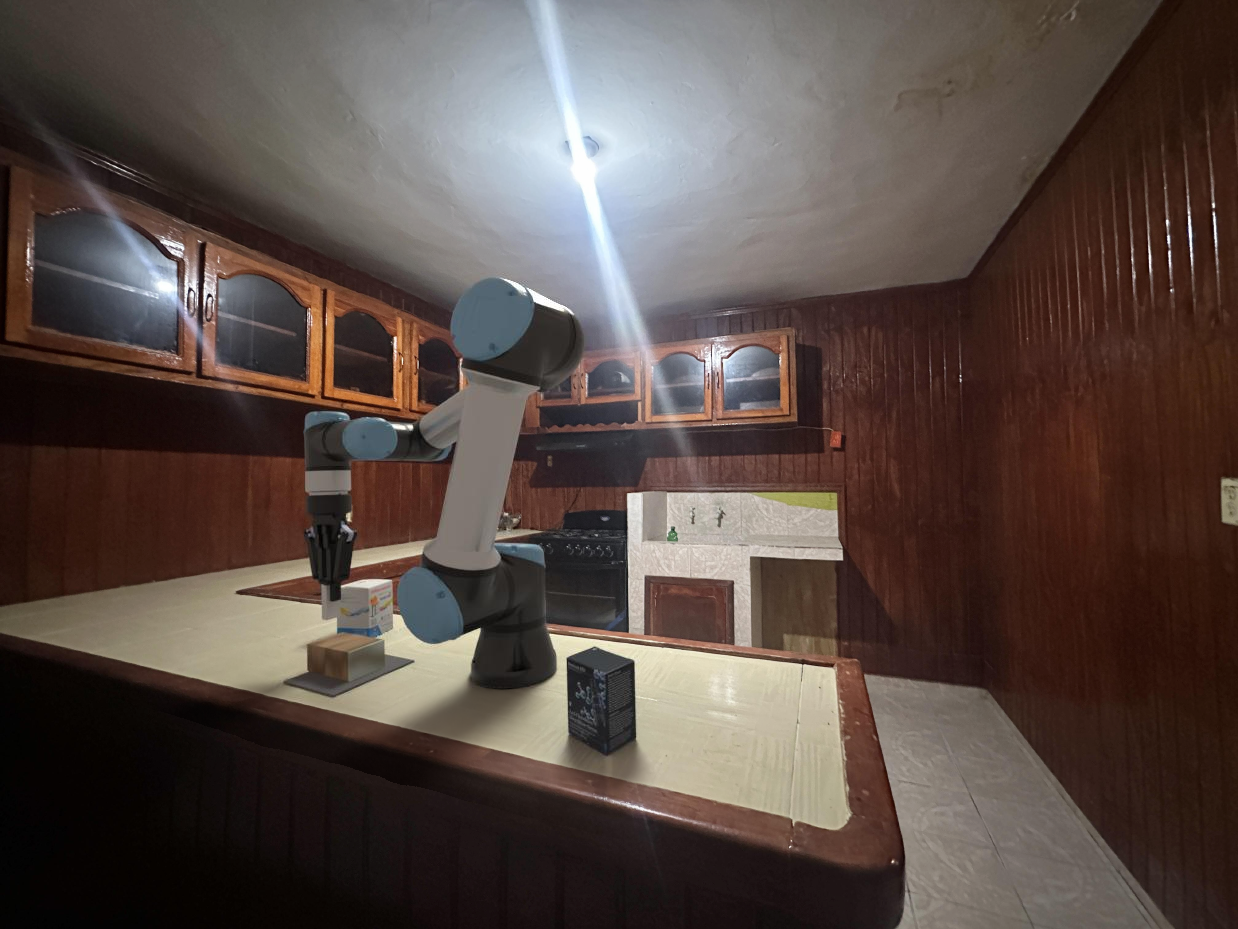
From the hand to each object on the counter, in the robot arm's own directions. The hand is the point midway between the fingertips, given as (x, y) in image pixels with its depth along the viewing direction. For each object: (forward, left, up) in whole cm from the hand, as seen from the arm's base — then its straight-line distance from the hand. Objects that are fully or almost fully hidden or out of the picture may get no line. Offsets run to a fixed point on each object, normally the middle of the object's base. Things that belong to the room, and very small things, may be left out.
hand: (331, 617), depth 92 cm
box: (-59, +1, -10) cm, 60 cm away
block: (+2, 0, -7) cm, 7 cm away
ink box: (+12, -16, -10) cm, 22 cm away
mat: (-6, 0, -9) cm, 11 cm away
